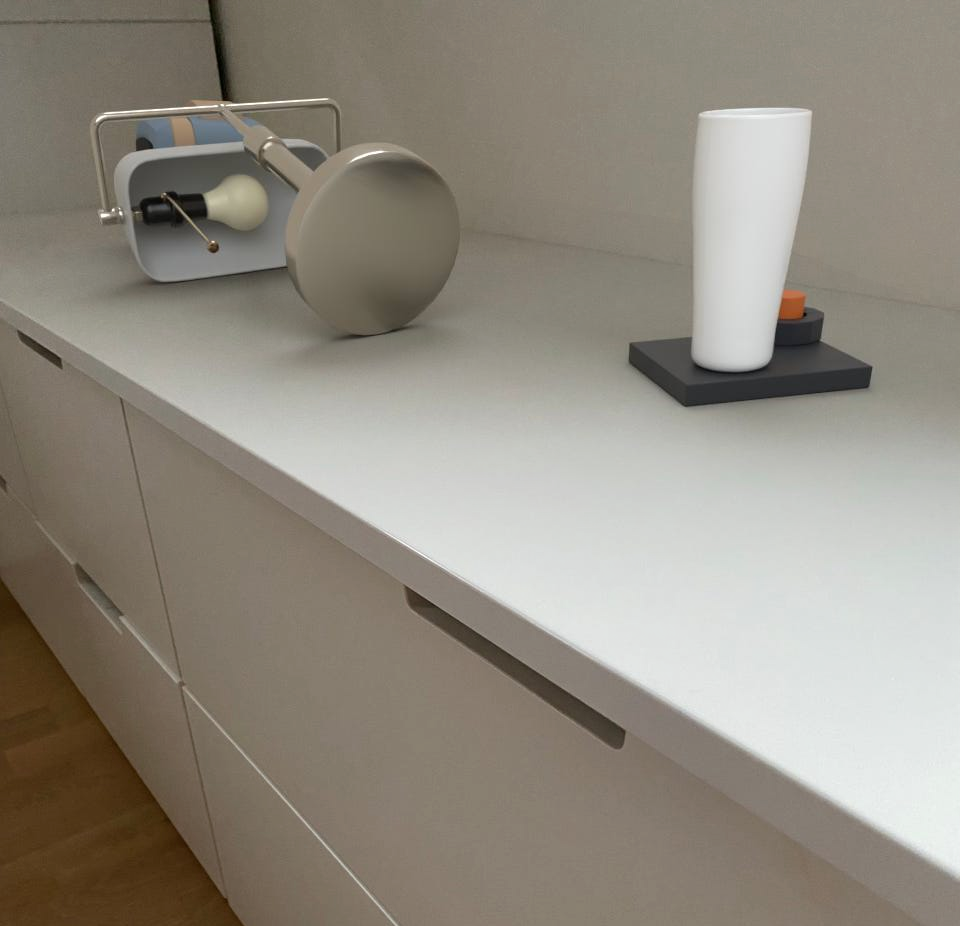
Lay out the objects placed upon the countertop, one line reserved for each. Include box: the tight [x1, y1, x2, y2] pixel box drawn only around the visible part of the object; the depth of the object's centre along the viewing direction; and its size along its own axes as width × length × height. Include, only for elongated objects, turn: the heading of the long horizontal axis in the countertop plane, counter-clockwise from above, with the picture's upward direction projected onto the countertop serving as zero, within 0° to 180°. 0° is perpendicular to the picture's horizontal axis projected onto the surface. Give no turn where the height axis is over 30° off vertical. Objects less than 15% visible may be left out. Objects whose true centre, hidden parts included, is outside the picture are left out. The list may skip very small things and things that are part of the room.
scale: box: [628, 306, 874, 407], centre depth 68 cm, size 14×12×3 cm
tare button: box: [778, 289, 807, 319], centre depth 71 cm, size 3×3×2 cm
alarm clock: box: [135, 99, 265, 152], centre depth 121 cm, size 16×16×16 cm
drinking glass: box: [691, 107, 813, 372], centre depth 62 cm, size 7×7×15 cm
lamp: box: [89, 97, 461, 336], centre depth 92 cm, size 27×23×40 cm
